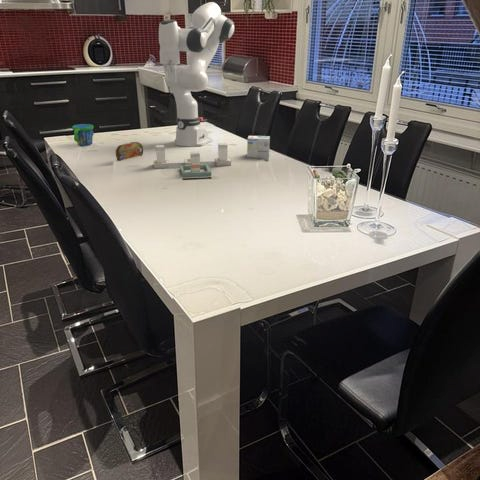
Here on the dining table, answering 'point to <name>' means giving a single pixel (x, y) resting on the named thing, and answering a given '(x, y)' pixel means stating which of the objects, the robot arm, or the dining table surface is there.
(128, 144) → the tin
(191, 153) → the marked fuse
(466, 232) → the dining table surface
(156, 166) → the board
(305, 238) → the dining table surface
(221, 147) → the block
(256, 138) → the light bulb box
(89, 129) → the snack cup
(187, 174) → the tray
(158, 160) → the block
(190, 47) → the robot arm
